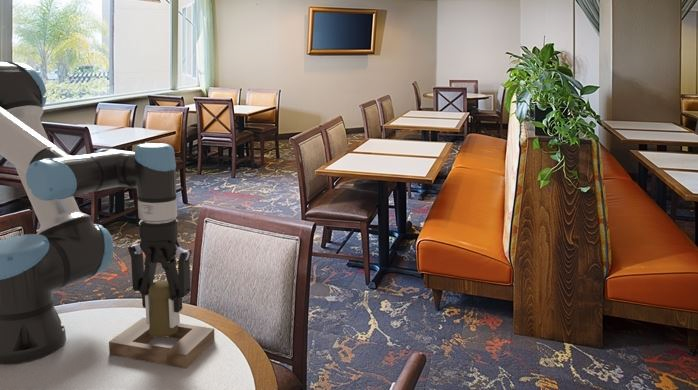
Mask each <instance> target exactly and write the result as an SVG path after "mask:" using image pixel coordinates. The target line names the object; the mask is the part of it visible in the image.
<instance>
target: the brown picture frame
mask: <svg viewBox="0 0 698 390" xmlns="http://www.w3.org/2000/svg"><path fill="white" fill-rule="evenodd" d="M149 325H150V324H146V317H142V318H140V319H139V320H138V321H136V322H134V323H133V324H132V325H131V326H129V327H128V328H126V329H125V330H123V331H122V332H121V333H119V334H118V335H116V336H115V337H113V338H112V339H110V340H109V341H108V350H109V351H108V353H109V354H108V355H110V356H114V357H119V358H124V359H131V360H138V361H144V362H148V363H149V362H150V363H155V364H158V365H159V364H160V365H165V366H170V367H177V368H183V369H188V368H189V367H190V366H191V365H192V364H193V363H194V362H195V361H196V360H197V359H198V358H199V357H200V356H201V355H202V354H203V353H204V352H205V351H206V350H207V349H208V348H209V347H210V346H211V345H212V344H213V343H214V342H215V339H216V337H215V328H213V327H205V326H200V325H193V324H187V323H182V322H180V323H179V324H177V325H178V331H177V332H176V333H174V334H173V335H170V336H166V338H171V339H172V338H173V339H179V340H178V341H177V342H176V343H174V344H173V345H172V346H171V347H165V346H159V345H153V344H148V343H149V342H151V340H153V339H154V338H155V337H154V336H151V335H150V334H149Z"/></svg>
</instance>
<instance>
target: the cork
mask: <svg viewBox="0 0 698 390" xmlns="http://www.w3.org/2000/svg"><path fill="white" fill-rule="evenodd" d="M149 295H150V297H151V298H152V304H151V315H150V325H149V334H150V335H151V336H154V338H165V337H166V336H170V335H173V334H174V333H176V332H177V331H178V325H176V326H175V327H174V328H170V322H169V298H171V297H172V295H171V292H170V288H169V285H168V281H167V280H158V281H153V284H151V286H150V287H149ZM166 338H167V337H166Z"/></svg>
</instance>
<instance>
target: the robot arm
mask: <svg viewBox="0 0 698 390" xmlns="http://www.w3.org/2000/svg"><path fill="white" fill-rule="evenodd" d="M46 94H47V89H46V85H45V82H44V80H43V78H42V77H41V75H40V74H39V72H37V71H36V70H35V69H34V68H33V67H32V66H30V65H27V64H26V63H23V62H22V63H21V62H14V61H9V60H3V61H0V155H1V156H2V157H3V158H4V159H5V160H7V161H8V162H10V163H11V164H12V165H14V167H15V170H16V172H17V174H18V175H17V176H18V177H19V179H20V182H21V183H22V185H23V186H22V187H23V188H24V191H25V193H26V194H27V195H26V196H27V197H28V199H29V201H30V204H31V206H32V209H33V210H34V213H35V215H36V217H37V220H38V223H39V225H40V227H39V229H38V231H37V233H27V234H25V233H24V234H23V235H15V236H10V237H7V238H5V239H2V240H0V364H3V365H4V364H5V365H7V364H19V363H20V364H21V363H26V362H30V361H35V360H37V359H40V358H44V357H46V356H48V355H51V354H52V353H54V352H56V351H57V350H59V349H60V348H62V347H63V346H64V344H65V342H66V340H67V333H66V328H65V325H64V323H62V321H61V317H60V315H59V313H58V311H57V310H56V308H55V302H54V292H55V291H56V290H59V289H62V288H65V287H68V286H71V285H73V284H75V283H78V282H80V281H84V280H86V279H87V280H88V279H91V278H93V277H95V276H96V275H99V274H100V273H102V272H105V271H106V270H107V269H108V268H109V267H110V265H111V263H112V260H113V257H114V255H115V254H114V253H115V248H114V241H113V237H112V236H111V233H110V232H109V230H108V229H107V228H104V226H103V225H101V224H98V223H94V222H93V220H92V218H91V216H90V214H87V213H84V212H82V211H81V210H80V209H79V206H78V203H77V202H76V199H75V197H77V196H80V195H81V196H82V195H85V194H89V193H93V192H100V191H103V190H108V189H115V188H118V187H124V188H131V189H136V194H137V210H138V219H140V220H139V222H138V227H139V228H138V230H139V231H138V232H139V238H140V239H141V240H140V242H139V243H138V242H137V243H134V244H132V245H130V246H128V248H127V250H128V253H129V256H130V259H131V260H130V261H131V263H130V264H131V281H132V289H133V291H135V292H137V291H138V292H139V293H140V294H141V300H142V303H141V305H142V308H143V309H144V308H145V318H146V324H150V315H151V304H152V298H151V297H150V295H149V287H150V286H151V284H153V283H154V282H155V276H156V275H155V274H156V271H157V270H156V269H157V266H158V265H157V264H160V265H161V268H162V269H163V270H164V273H165V277H166V281H168V285H169V288H170V292H171V295H172V297H171V298H169V322H170V328H174V327H175V326H176V325H177V324H179V323H181V319H180V312H181V311H182V310H183V298H184V297H186V296H187V295H188V294H190V293H191V290H192V288H191V269H190V268H191V266H190V264H191V263H190V259H191V256H192V250H191V249H190V248H188V249H184V248H182V247H181V246H180V244H179V242H178V236H179V223H178V219H177V217H178V199H177V184H176V183H177V181H176V179H177V174H176V172H177V170H176V169H177V162H176V157H175V149H174V147H173V146H172V145H171V144H168V143H163V142H162V143H161V142H160V143H159V142H158V143H156V142H147V143H140V144H138V145H136V146H135V148H134V151H130V150H124V149H123V150H122V149H117V148H100V149H97V150H95V151H94V152H92V153H86V154H79V155H78V154H77V155H71V154H69V153H68V152H66V151H65V150H63V149H62V148H60V147H59V146H57V145H56V144H54V143H53V142H51V141H50V139H49V137H48V136H47V133H46V131H45V129H44V126H43V124H42V121H41V117H42V116H43V114H44V107H45V105H46V102H47V96H46ZM144 255H145V259H144ZM176 255H177V257H176ZM176 259H177V260H178V262H177V260H176Z"/></svg>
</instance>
